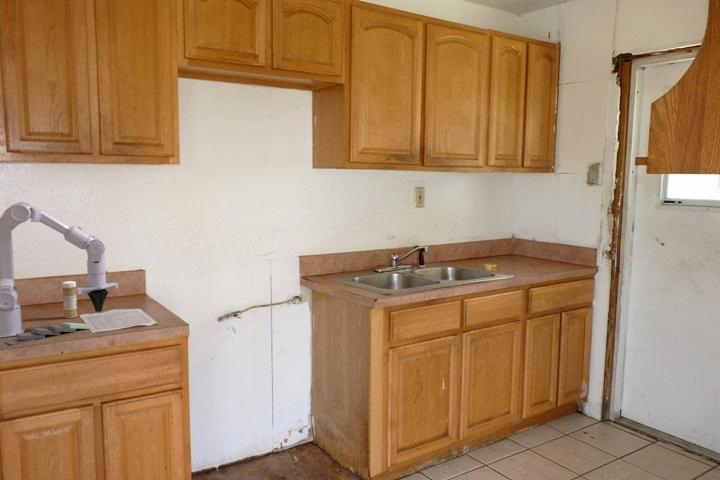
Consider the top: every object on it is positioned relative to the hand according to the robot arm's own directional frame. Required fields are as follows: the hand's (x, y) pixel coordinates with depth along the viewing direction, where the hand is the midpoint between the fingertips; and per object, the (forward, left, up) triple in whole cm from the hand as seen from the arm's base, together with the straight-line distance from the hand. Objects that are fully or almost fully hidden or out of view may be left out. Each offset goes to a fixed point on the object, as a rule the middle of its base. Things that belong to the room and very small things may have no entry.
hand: (98, 311), depth 197 cm
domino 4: (-8, -5, -4) cm, 11 cm away
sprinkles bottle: (-10, +16, -5) cm, 20 cm away
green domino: (-4, -2, -4) cm, 6 cm away
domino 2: (-17, -9, -4) cm, 20 cm away
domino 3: (-13, -7, -4) cm, 15 cm away
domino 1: (-19, -11, -5) cm, 23 cm away
